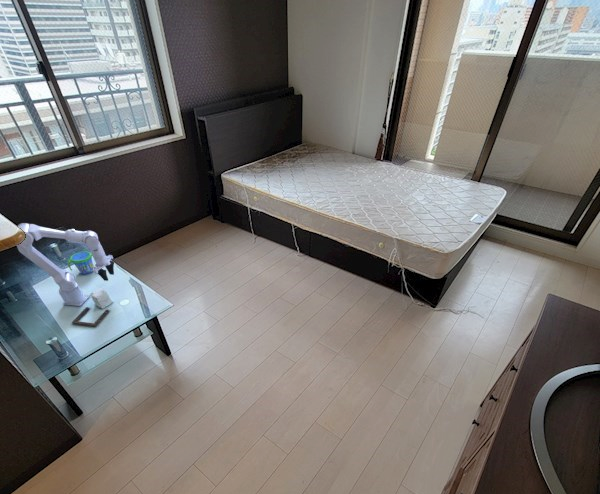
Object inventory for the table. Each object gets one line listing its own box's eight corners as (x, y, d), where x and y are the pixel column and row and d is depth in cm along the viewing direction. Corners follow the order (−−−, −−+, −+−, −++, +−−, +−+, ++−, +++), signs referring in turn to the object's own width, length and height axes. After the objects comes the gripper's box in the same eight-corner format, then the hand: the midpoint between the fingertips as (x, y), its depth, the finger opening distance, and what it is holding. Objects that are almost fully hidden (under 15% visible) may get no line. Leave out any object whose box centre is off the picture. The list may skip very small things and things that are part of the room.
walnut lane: (72, 324, 167) (71, 322, 166) (87, 308, 176) (86, 307, 175) (95, 327, 166) (94, 325, 165) (109, 311, 174) (108, 309, 173)
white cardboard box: (112, 302, 179) (107, 291, 174) (102, 309, 176) (96, 298, 170) (105, 298, 182) (100, 287, 177) (95, 305, 178) (89, 294, 173)
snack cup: (100, 262, 207) (93, 248, 200) (103, 271, 201) (96, 256, 194) (71, 270, 201) (63, 255, 194) (74, 279, 194) (66, 264, 187)
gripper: (97, 263, 165) (108, 286, 174) (114, 248, 176) (123, 270, 185) (84, 262, 166) (95, 284, 175) (101, 247, 176) (111, 268, 186)
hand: (109, 277), depth 180 cm, fingers open, 5 cm apart
